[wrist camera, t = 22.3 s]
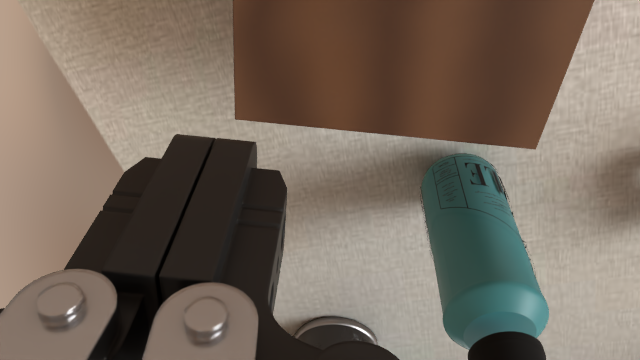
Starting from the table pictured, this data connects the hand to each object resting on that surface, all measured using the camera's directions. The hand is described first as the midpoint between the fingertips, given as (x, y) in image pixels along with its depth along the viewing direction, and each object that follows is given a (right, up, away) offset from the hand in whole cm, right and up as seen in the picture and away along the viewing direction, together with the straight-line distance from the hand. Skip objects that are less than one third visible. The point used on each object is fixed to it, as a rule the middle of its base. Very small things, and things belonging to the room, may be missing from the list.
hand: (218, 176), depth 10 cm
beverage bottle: (+14, +1, +34) cm, 36 cm away
